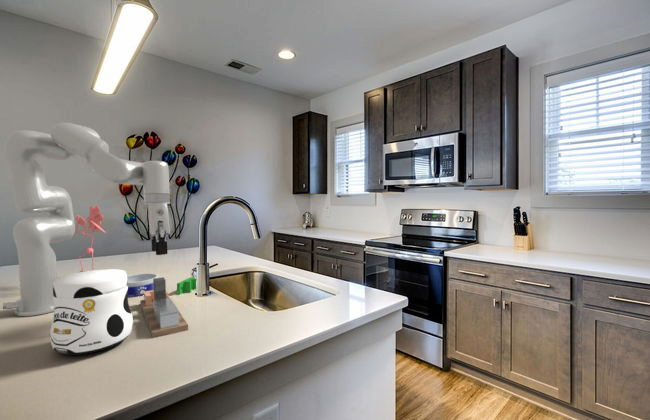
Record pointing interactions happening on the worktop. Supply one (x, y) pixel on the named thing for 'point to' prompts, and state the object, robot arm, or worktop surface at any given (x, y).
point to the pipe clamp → (186, 285)
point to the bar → (159, 288)
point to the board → (153, 322)
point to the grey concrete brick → (166, 313)
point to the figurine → (93, 222)
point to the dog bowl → (140, 284)
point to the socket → (150, 296)
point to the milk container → (90, 311)
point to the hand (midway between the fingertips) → (159, 252)
